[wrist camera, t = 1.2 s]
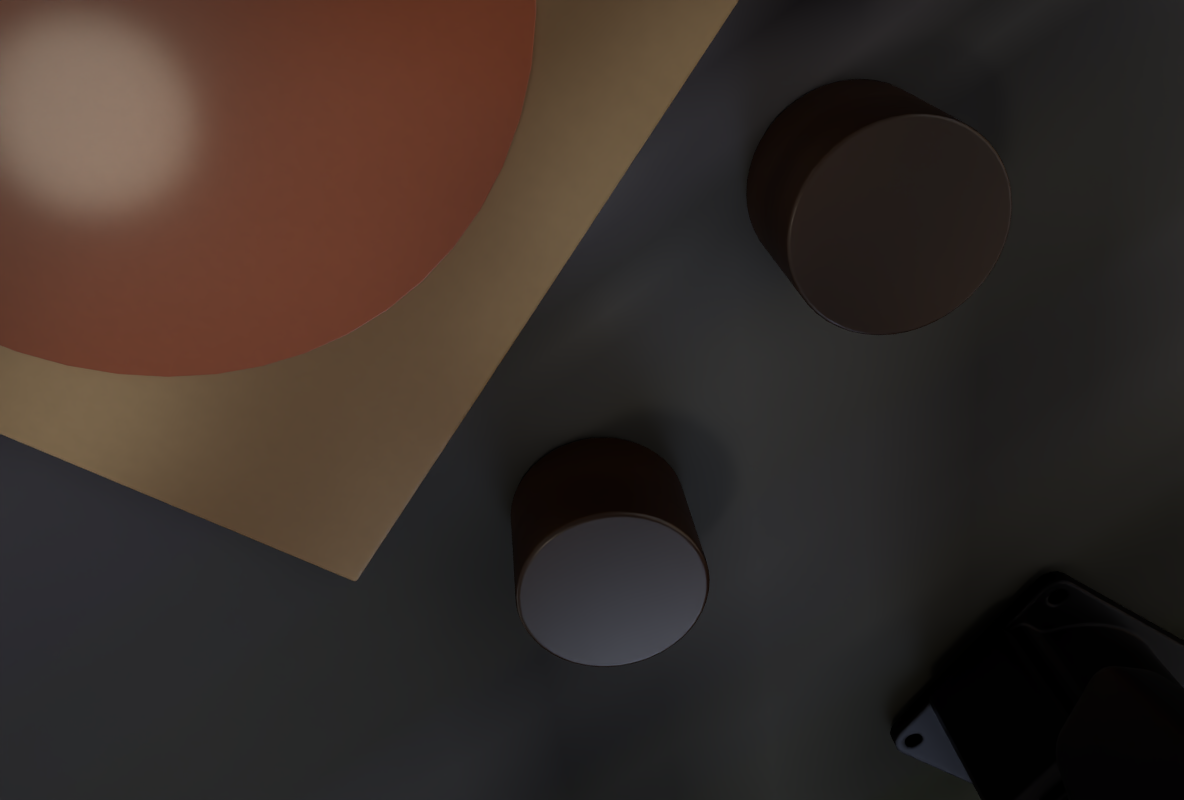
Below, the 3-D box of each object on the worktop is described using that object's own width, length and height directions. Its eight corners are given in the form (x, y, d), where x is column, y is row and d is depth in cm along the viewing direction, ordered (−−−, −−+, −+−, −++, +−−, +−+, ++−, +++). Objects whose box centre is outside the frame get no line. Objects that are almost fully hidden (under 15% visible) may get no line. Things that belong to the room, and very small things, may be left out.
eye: (983, 149, 20) (1060, 193, 17) (856, 309, 21) (909, 372, 19) (831, 36, 19) (890, 65, 16) (706, 214, 20) (741, 268, 17)
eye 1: (717, 482, 23) (749, 562, 21) (621, 603, 25) (638, 693, 22) (571, 406, 22) (585, 481, 19) (478, 539, 23) (478, 626, 21)
